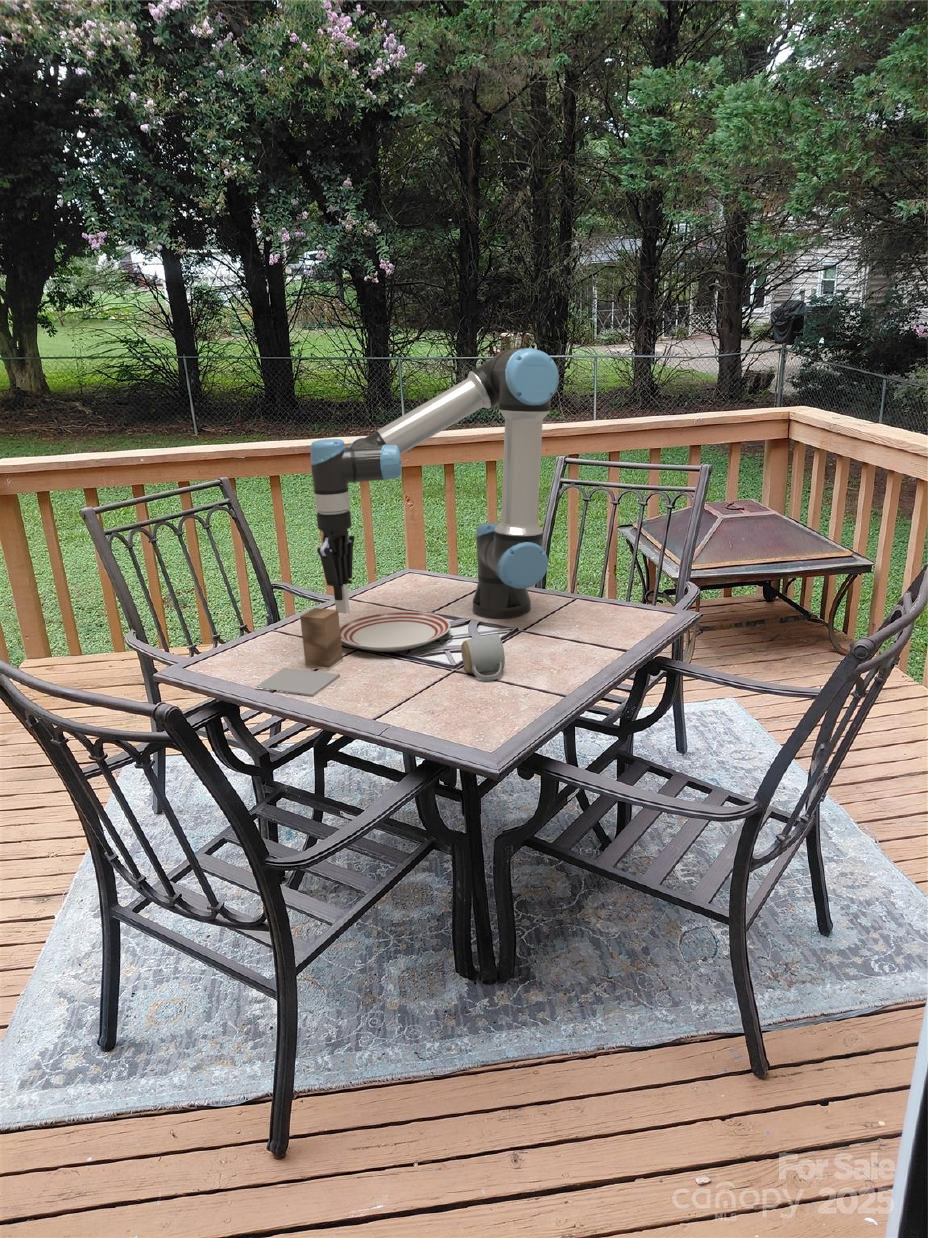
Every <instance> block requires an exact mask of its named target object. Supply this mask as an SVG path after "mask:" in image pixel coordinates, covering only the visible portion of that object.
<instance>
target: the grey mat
mask: <svg viewBox="0 0 928 1238" xmlns="http://www.w3.org/2000/svg"><path fill="white" fill-rule="evenodd" d="M339 678H340V673H333V672H324V671H315V670H306V669H299V668H298V669H297V668H289V667H282V668H281V669H279V671H277V672H276V673H274V674H272V675H271V676H269V677H268V678H266V679H264V680H263V681H262V682H260V683H259V684H258V685H256V686H255V687H257V688H263V689H269V690H278V691H283V692H288V693H293V694H292V695H296V694H301V695H300V696H304V695H307V696H306V697H311V696H313V697H315V696H316V695H317V694H319V693H320V692H321V691H322V690H324V689H326V688H327V687H328V686H329V685H331V684H332V683H333V682H334V681H336V680H338V679H339ZM259 686H260V687H259ZM320 690H321V691H320ZM319 691H320V692H319ZM318 692H319V693H318ZM288 693H287V694H288ZM315 694H316V695H315ZM314 695H315V696H314Z"/></svg>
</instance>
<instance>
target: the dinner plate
mask: <svg viewBox="0 0 928 1238" xmlns="http://www.w3.org/2000/svg"><path fill="white" fill-rule="evenodd" d="M450 629H451V622H450V621H449V620H448V619H447V618H445V617H443V616H441V615H438V614H435V613H430V612H423V611H414V610H413V611H412V610H411V611H407V610H405V611H404V610H403V611H396V610H395V611H386V612H385V611H384V612H377V613H372V614H366V615H363V616H358V617H354V618H353V619H350V620H348V621H346V622H343V624H341V625H340V635H341V643H343V644H346V645H349V646H351V647H354V648H357V649H362V650H366V651H367V650H368V651H372V652H379V653H380V652H382V653H384V652H385V653H393V652H394V653H395V652H403V651H409V650H412V649H416V648H420V647H422V646H424V645H427V644H430V643H432V642H435V641H437V640H438V639H440V638H441V637H443V636H445V635H446V634H447V633H449V631H450ZM408 649H409V650H408Z"/></svg>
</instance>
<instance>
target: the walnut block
mask: <svg viewBox="0 0 928 1238" xmlns="http://www.w3.org/2000/svg"><path fill="white" fill-rule="evenodd" d="M299 619H300V626H301V627H300V628H301V636H302V638H301V639H302V646H303V653H304V654H303V656H304V662H305V668H306V667H307V668H306V669H313V668H314V669H316V670H322V669H326V670H325V671H331V670H332V669H334V668H335V667H336V666H338V665H339V664H340V663H342V662H343V661H344V658H343V656H344V655H343V648H342V647H343V646H342V641H341V635H340V626H341V625H340V617H339V613H338V610H336V609H330V608H329V609H328V608H318V607H315V608H312V609H311V610H309V611H306V612H305V613H303V614H301V615H300V616H299Z"/></svg>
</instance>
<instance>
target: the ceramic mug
mask: <svg viewBox="0 0 928 1238" xmlns="http://www.w3.org/2000/svg"><path fill="white" fill-rule="evenodd" d="M460 650H461V653H460V654H461V659H462V663H463V666H464V669H465V671H466V672H468V673H470V674H472V673H473V674H474V676H475V677H476V678H477V679H478V680H480V681H483V682H493V681H496V680H497V679H499V678H500V677H501V674H502V670H503V669H505V664H506V661H505V660H506V657H505V655H506V654H505V650H504V644H503V642H502V639H501V637H500V634H499V633H491V634H488V635H482V636H478V637H473V638H469V639H466V640H464V641H462V643H461V647H460ZM490 671H496V673H494V674H492V675H484V674H481V673H482V672H490Z"/></svg>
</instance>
